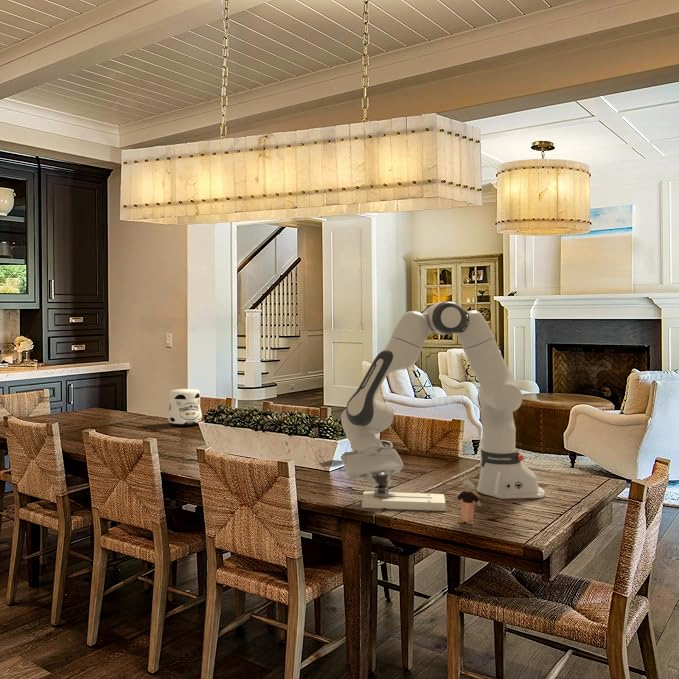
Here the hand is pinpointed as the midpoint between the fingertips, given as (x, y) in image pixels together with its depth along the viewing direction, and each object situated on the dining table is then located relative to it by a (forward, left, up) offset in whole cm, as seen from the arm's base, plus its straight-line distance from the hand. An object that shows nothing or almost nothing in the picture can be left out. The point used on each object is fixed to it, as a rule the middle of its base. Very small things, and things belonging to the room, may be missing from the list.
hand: (382, 486), depth 221 cm
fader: (0, -1, -3) cm, 3 cm away
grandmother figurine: (-26, +15, -6) cm, 31 cm away
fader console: (-7, -1, -6) cm, 9 cm away
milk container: (+109, -132, -6) cm, 171 cm away
